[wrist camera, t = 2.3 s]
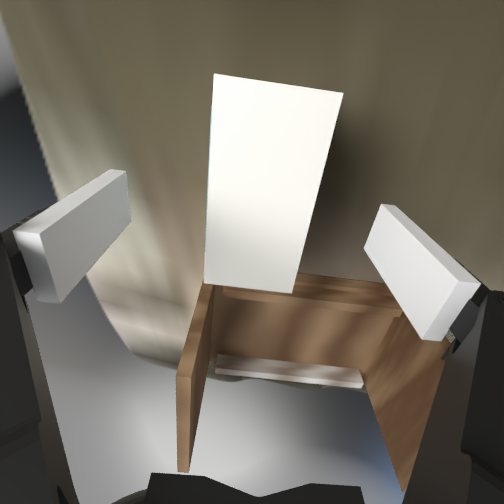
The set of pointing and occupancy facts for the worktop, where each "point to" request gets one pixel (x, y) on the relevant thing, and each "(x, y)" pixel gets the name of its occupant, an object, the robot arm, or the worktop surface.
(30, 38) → the worktop surface
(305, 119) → the product carton
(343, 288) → the facing shelf
